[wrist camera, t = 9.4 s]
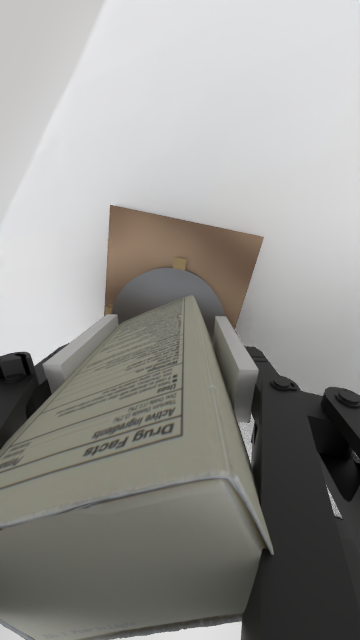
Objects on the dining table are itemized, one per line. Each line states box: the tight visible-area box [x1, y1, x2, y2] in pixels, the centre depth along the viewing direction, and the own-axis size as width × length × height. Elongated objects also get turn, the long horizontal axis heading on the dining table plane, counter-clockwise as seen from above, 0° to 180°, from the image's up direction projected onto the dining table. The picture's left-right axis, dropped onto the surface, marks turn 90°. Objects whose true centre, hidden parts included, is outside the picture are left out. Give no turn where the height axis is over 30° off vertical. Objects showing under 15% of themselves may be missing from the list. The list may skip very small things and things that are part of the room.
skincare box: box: [0, 295, 274, 640], centre depth 9 cm, size 6×4×12 cm
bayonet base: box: [104, 205, 264, 344], centre depth 16 cm, size 16×12×4 cm
